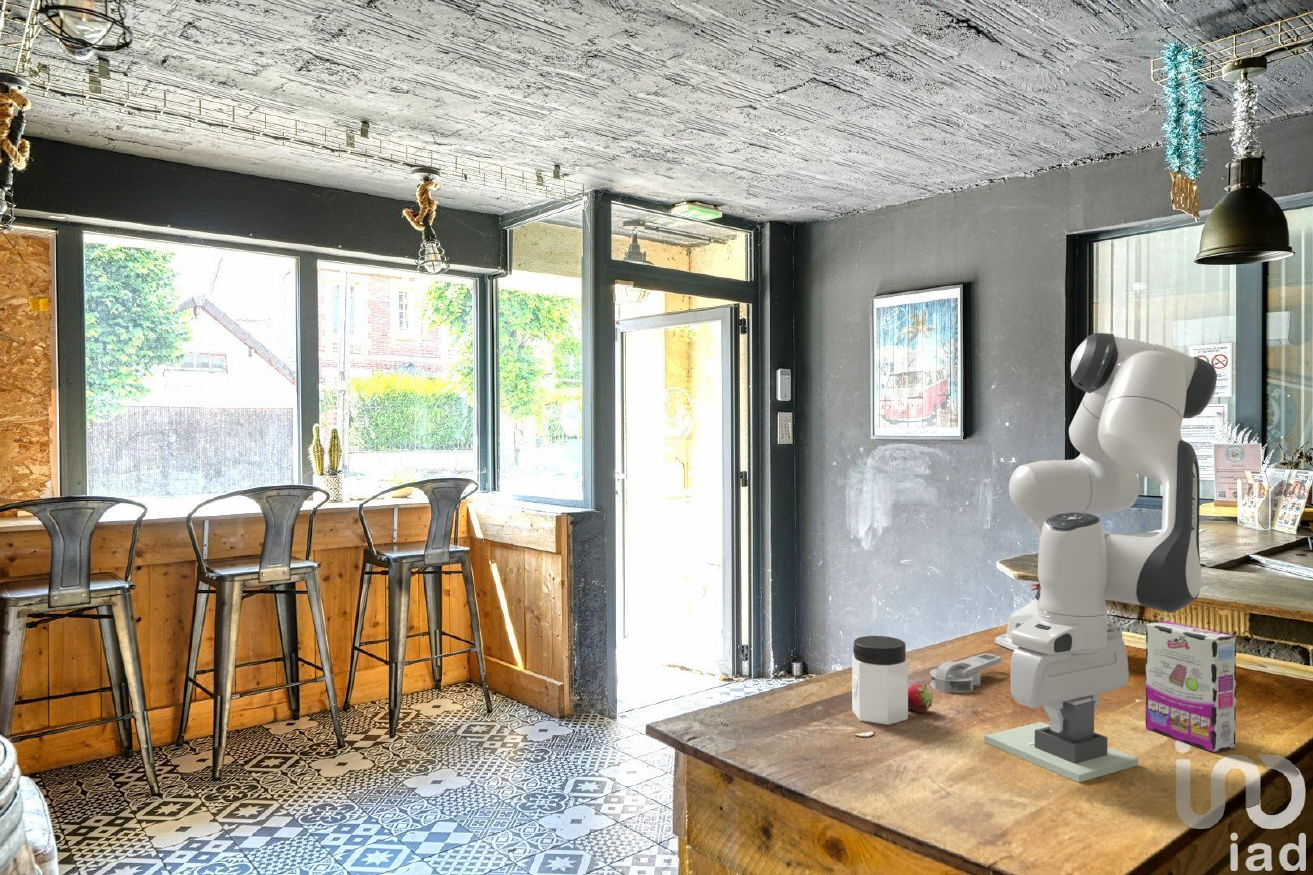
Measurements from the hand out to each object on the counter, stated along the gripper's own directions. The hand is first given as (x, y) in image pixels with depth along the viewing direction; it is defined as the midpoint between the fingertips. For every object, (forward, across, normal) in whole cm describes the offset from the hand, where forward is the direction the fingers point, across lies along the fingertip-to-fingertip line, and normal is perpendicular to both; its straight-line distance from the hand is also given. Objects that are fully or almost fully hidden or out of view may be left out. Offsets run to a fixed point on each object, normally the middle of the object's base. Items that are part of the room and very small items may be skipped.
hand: (1071, 727), depth 123 cm
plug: (+2, 0, 0) cm, 2 cm away
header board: (+4, 0, -2) cm, 5 cm away
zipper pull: (+5, -14, -33) cm, 36 cm away
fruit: (+5, +5, -25) cm, 26 cm away
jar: (+5, +12, -26) cm, 29 cm away
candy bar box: (+5, -22, +3) cm, 23 cm away
